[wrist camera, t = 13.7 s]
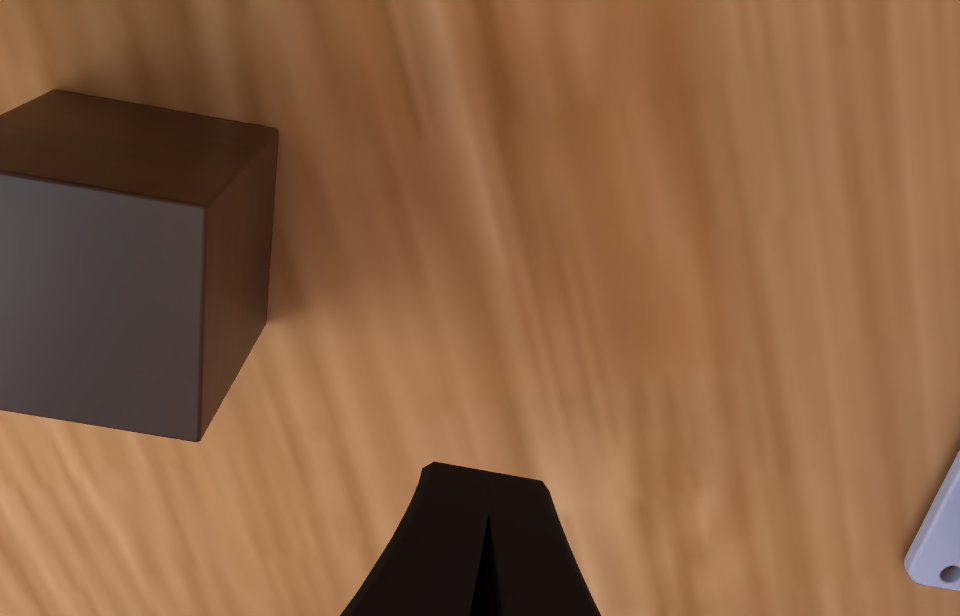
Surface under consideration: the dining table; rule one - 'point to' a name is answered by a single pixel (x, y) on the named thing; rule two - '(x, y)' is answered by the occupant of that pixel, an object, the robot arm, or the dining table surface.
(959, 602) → the dining table surface
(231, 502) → the dining table surface
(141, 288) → the block
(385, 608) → the robot arm
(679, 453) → the dining table surface
